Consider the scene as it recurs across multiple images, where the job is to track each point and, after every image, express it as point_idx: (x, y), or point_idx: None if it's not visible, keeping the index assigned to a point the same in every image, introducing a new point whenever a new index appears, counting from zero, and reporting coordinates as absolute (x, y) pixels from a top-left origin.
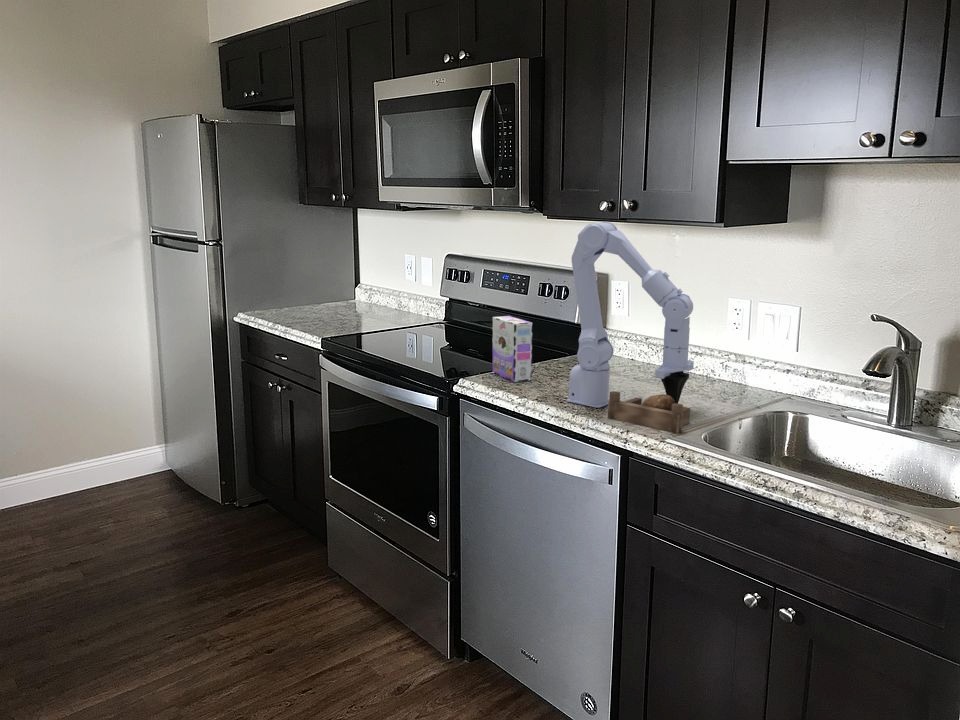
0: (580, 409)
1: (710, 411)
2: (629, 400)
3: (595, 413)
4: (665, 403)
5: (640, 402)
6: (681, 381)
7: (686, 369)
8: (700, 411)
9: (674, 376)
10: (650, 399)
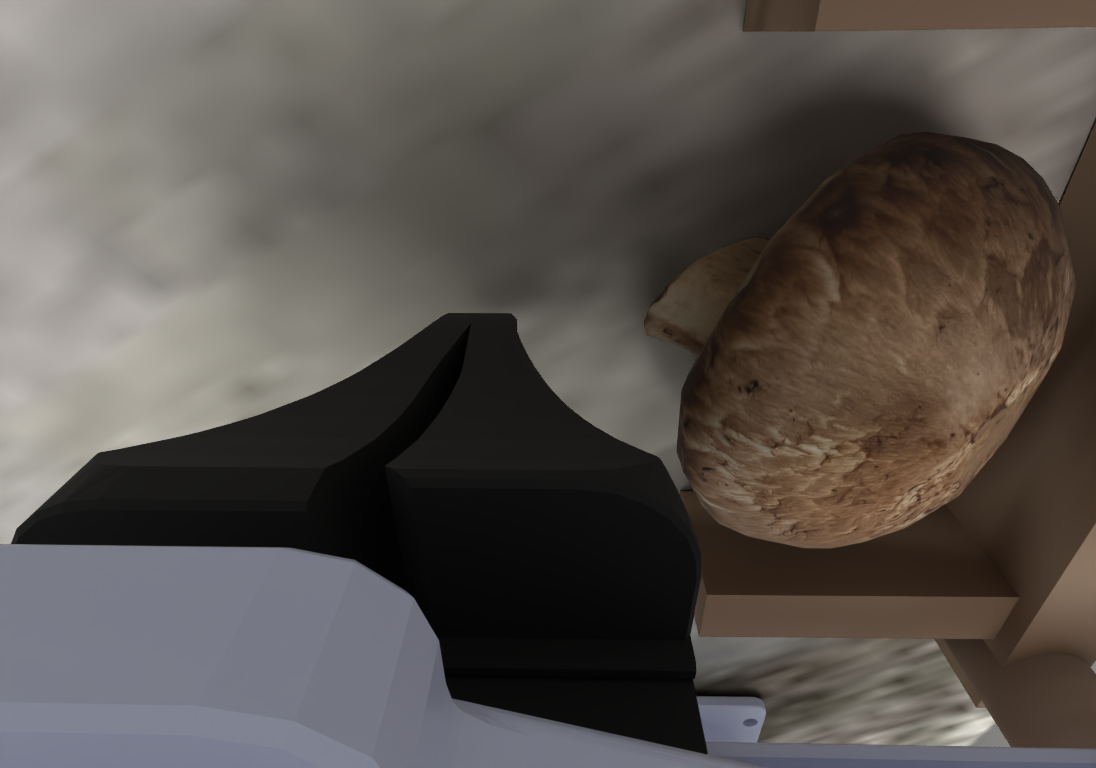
0: (834, 734)
1: (58, 11)
2: (854, 629)
3: (882, 661)
4: (1050, 263)
5: (725, 565)
6: (476, 443)
7: (427, 702)
8: (179, 115)
9: (597, 650)
10: (959, 487)
